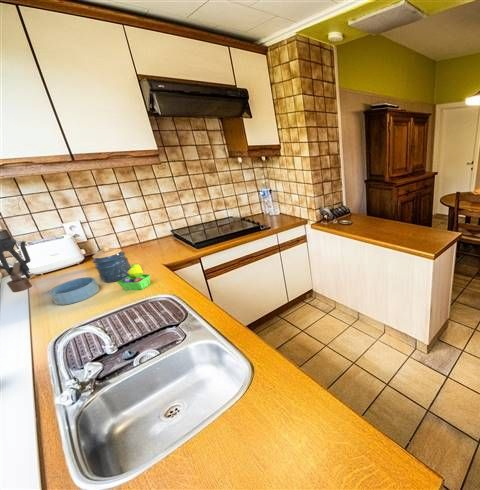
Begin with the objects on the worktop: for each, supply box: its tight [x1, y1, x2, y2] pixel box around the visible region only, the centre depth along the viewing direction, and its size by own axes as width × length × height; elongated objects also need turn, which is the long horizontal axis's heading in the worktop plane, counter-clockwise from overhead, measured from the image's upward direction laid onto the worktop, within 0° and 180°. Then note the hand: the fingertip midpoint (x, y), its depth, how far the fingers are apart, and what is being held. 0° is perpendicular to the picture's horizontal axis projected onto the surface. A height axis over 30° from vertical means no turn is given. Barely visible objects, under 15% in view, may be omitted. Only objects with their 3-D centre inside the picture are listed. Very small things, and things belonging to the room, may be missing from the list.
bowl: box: [48, 276, 100, 306], centre depth 126 cm, size 15×15×6 cm
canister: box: [91, 246, 132, 283], centre depth 140 cm, size 13×13×18 cm
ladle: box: [6, 261, 33, 293], centre depth 119 cm, size 24×6×6 cm, turn 49°
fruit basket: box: [116, 263, 151, 291], centre depth 130 cm, size 11×9×11 cm
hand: (24, 278), depth 122 cm, fingers closed on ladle, 2 cm apart
